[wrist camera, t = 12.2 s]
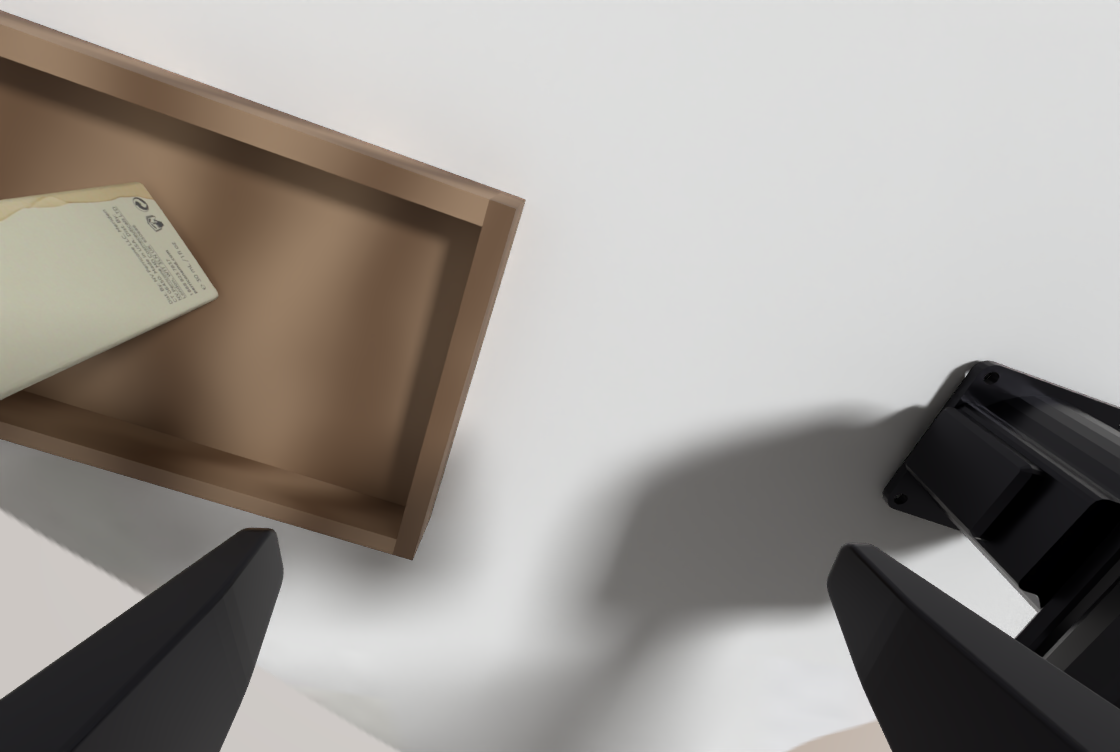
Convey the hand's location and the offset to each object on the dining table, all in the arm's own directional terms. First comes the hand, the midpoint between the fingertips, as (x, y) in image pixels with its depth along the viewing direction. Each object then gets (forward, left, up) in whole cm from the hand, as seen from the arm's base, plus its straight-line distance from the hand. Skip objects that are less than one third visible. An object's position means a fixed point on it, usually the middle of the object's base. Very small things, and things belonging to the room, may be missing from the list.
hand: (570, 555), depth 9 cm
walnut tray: (+13, +4, -12) cm, 18 cm away
